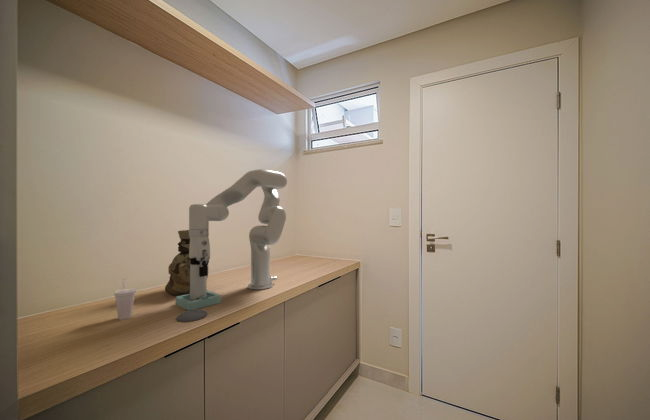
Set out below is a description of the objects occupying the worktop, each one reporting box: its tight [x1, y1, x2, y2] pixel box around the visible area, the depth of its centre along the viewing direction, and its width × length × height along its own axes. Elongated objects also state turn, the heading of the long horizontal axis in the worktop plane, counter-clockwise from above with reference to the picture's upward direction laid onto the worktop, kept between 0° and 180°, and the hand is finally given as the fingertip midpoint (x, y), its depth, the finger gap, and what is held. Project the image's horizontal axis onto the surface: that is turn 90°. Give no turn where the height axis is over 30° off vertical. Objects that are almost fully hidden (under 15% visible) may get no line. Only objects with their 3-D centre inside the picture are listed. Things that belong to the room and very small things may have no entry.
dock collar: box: [175, 289, 222, 311], centre depth 109 cm, size 13×13×4 cm
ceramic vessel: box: [164, 229, 210, 297], centre depth 127 cm, size 19×21×30 cm
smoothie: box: [113, 278, 137, 321], centre depth 94 cm, size 6×6×14 cm
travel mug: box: [189, 258, 208, 301], centre depth 109 cm, size 6×7×20 cm
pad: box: [176, 309, 208, 323], centre depth 94 cm, size 10×10×1 cm
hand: (198, 274), depth 109 cm, fingers open, 8 cm apart
